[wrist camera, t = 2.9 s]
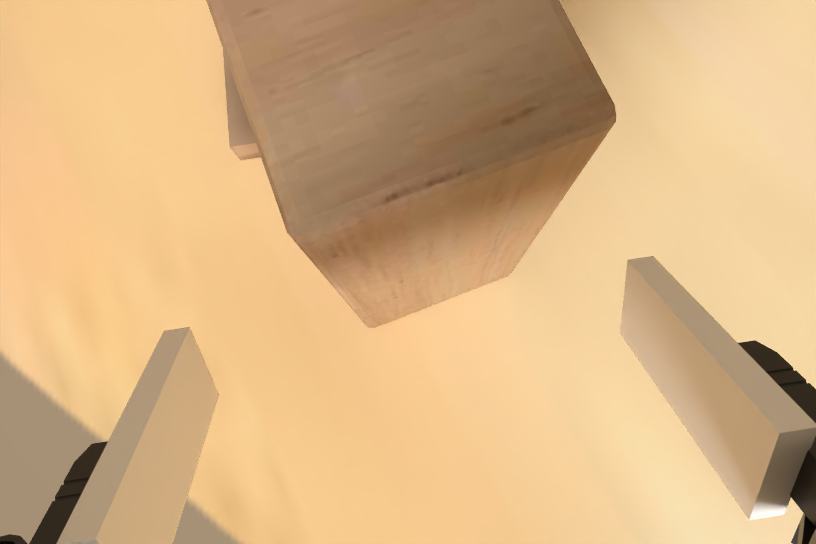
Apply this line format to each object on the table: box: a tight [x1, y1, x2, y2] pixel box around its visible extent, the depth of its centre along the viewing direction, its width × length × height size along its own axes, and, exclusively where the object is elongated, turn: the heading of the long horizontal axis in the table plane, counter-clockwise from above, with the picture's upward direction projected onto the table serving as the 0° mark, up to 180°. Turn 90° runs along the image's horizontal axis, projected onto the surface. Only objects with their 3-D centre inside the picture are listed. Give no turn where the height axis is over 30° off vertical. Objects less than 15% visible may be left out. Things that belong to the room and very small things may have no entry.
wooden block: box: [206, 0, 616, 328], centre depth 25 cm, size 10×10×20 cm
